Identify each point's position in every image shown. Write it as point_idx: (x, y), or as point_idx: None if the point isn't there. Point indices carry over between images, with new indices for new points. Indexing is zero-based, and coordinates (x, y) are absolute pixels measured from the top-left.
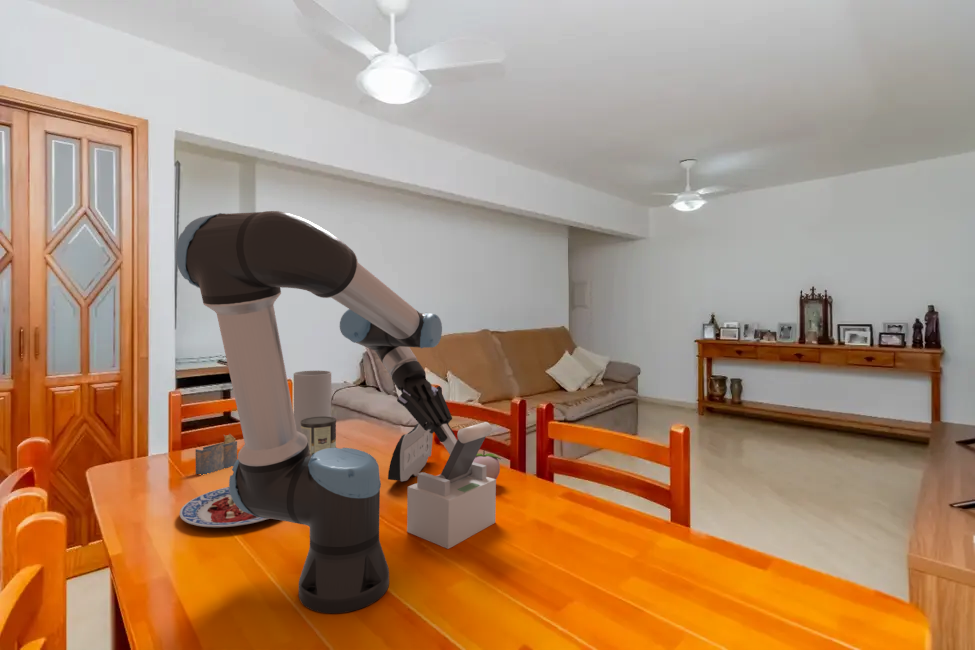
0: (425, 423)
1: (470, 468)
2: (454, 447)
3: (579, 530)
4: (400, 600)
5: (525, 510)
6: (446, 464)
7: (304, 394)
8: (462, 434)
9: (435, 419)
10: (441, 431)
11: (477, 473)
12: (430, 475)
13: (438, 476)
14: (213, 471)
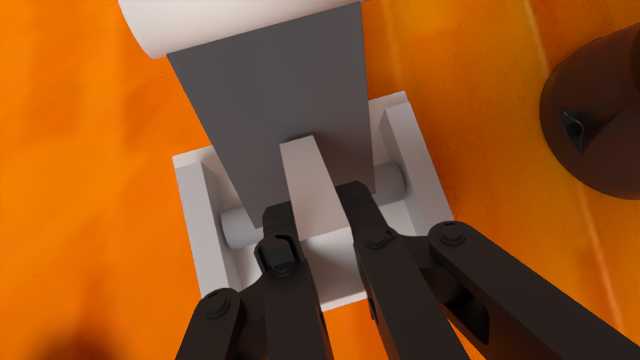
0: (461, 318)
1: (225, 211)
2: (365, 68)
3: (95, 56)
4: (539, 37)
5: (105, 203)
6: (370, 150)
7: None
8: None
9: (397, 264)
10: (362, 211)
11: (215, 190)
12: (422, 190)
13: (392, 178)
14: None
